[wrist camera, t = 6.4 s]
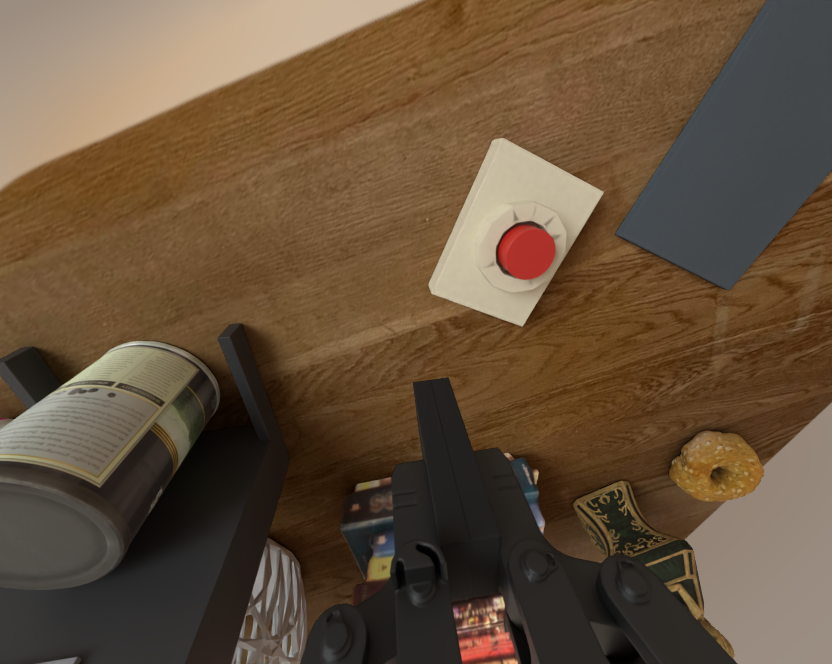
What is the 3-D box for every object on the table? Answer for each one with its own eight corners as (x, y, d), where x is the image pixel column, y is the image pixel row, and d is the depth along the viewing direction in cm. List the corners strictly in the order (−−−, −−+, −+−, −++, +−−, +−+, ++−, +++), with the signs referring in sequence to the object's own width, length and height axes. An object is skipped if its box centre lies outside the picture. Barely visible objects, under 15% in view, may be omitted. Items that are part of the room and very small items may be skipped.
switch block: (492, 139, 24) (513, 135, 21) (587, 190, 26) (620, 194, 23) (427, 284, 29) (435, 302, 25) (513, 316, 31) (531, 336, 28)
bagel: (734, 412, 41) (775, 441, 37) (738, 462, 46) (775, 492, 42) (657, 446, 42) (688, 478, 38) (670, 491, 47) (698, 523, 43)
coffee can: (245, 400, 32) (163, 550, 20) (163, 443, 34) (38, 609, 21) (159, 318, 27) (-18, 448, 15) (68, 372, 29) (-164, 532, 16)
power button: (513, 216, 23) (522, 220, 22) (553, 235, 24) (565, 240, 23) (489, 263, 25) (496, 269, 23) (528, 279, 26) (538, 286, 24)
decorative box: (560, 496, 45) (676, 706, 28) (628, 467, 44) (794, 669, 26) (593, 560, 54) (696, 748, 37) (650, 537, 53) (785, 722, 35)
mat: (784, -27, 21) (798, -34, 21) (896, 80, 25) (911, 78, 24) (614, 234, 28) (620, 236, 28) (721, 287, 32) (729, 290, 31)
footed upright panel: (18, 347, 27) (-1665, 1225, 5) (243, 322, 28) (-261, 937, 6) (119, 482, 35) (-334, 1050, 13) (292, 458, 36) (156, 942, 14)
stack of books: (528, 444, 40) (622, 619, 24) (528, 529, 48) (598, 698, 33) (342, 483, 39) (322, 686, 24) (375, 562, 48) (376, 749, 32)
